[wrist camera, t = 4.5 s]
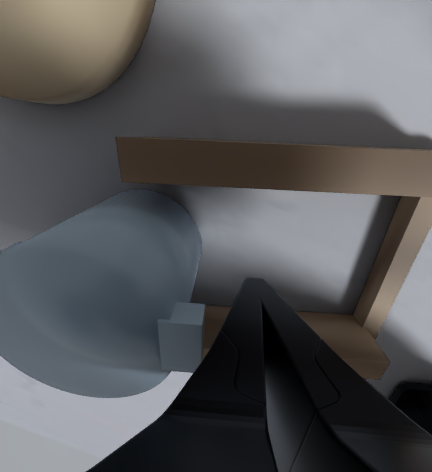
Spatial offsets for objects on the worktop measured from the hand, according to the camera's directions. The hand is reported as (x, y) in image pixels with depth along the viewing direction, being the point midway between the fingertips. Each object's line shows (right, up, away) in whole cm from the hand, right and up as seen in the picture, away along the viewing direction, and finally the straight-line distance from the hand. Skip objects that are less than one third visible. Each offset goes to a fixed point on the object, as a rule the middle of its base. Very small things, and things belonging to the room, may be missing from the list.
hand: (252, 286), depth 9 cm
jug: (-5, +2, +3) cm, 6 cm away
